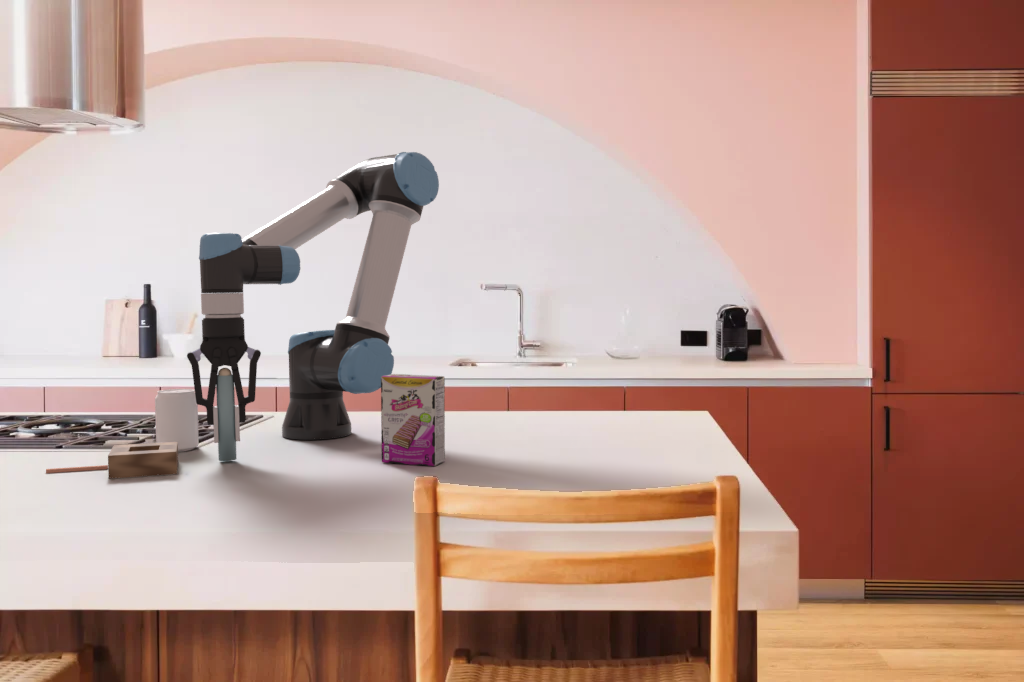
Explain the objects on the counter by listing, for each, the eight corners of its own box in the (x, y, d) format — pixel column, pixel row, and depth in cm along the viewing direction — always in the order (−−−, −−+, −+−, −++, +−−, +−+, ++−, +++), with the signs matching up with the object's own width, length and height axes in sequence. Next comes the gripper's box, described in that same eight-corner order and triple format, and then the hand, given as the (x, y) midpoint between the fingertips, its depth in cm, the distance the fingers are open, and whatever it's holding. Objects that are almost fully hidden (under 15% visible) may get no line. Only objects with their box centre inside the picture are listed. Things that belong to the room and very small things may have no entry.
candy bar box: (380, 463, 165) (379, 375, 164) (392, 458, 170) (391, 373, 169) (435, 467, 162) (434, 377, 161) (446, 462, 166) (445, 375, 165)
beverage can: (184, 453, 176) (182, 393, 176) (147, 452, 178) (146, 392, 177) (206, 446, 184) (204, 388, 184) (171, 445, 186) (169, 388, 185)
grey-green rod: (236, 457, 170) (233, 366, 168) (236, 460, 167) (233, 368, 165) (218, 458, 168) (215, 367, 167) (218, 461, 165) (215, 368, 164)
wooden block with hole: (178, 462, 167) (177, 441, 167) (176, 474, 156) (176, 451, 156) (114, 466, 163) (113, 445, 163) (108, 478, 153) (107, 455, 153)
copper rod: (108, 468, 162) (107, 465, 162) (107, 469, 161) (107, 465, 161) (46, 472, 159) (46, 468, 159) (46, 473, 158) (45, 469, 158)
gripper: (266, 314, 172) (270, 434, 173) (177, 316, 167) (181, 440, 168) (269, 316, 165) (272, 441, 166) (176, 318, 160) (180, 447, 161)
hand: (227, 440), depth 167 cm, fingers closed on grey-green rod, 3 cm apart
